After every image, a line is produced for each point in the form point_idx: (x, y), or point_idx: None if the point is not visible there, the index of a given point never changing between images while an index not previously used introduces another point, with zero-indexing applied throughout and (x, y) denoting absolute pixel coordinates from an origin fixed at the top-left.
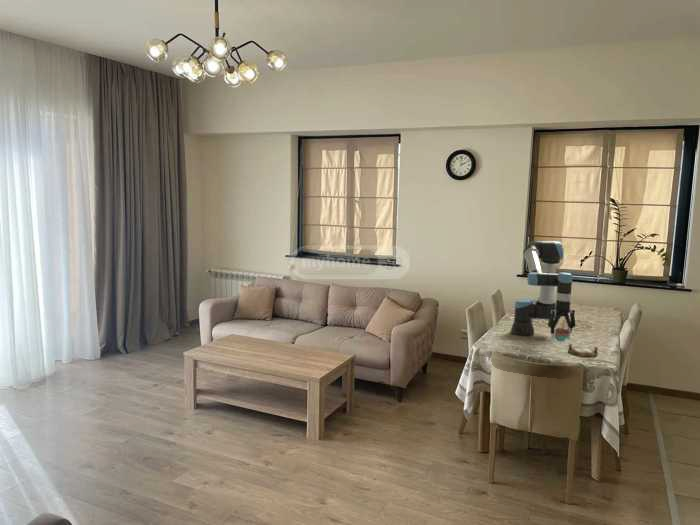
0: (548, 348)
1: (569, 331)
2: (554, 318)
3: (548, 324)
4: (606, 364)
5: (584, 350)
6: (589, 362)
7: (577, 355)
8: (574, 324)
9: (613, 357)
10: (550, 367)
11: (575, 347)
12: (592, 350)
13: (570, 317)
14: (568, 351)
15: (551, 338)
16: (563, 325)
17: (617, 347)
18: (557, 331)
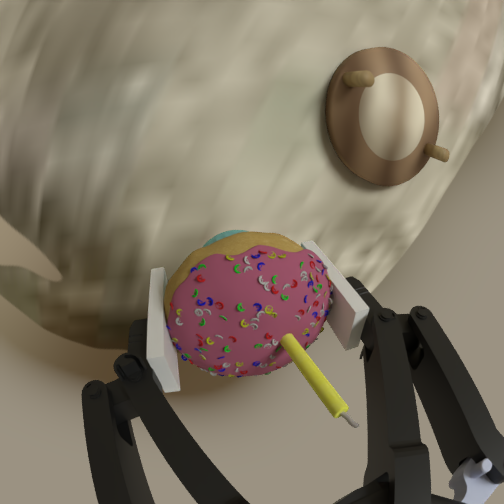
0: (241, 4)
1: (332, 326)
2: (184, 485)
3: (89, 414)
4: (373, 274)
5: (402, 117)
6: (331, 258)
7: (340, 158)
8: (413, 358)
9: (445, 190)
10: (123, 337)
11: (389, 59)
12: (429, 124)
13: (453, 397)
14: (331, 84)
15: (151, 270)
16: (304, 373)
17: (498, 89)
18: (197, 364)
